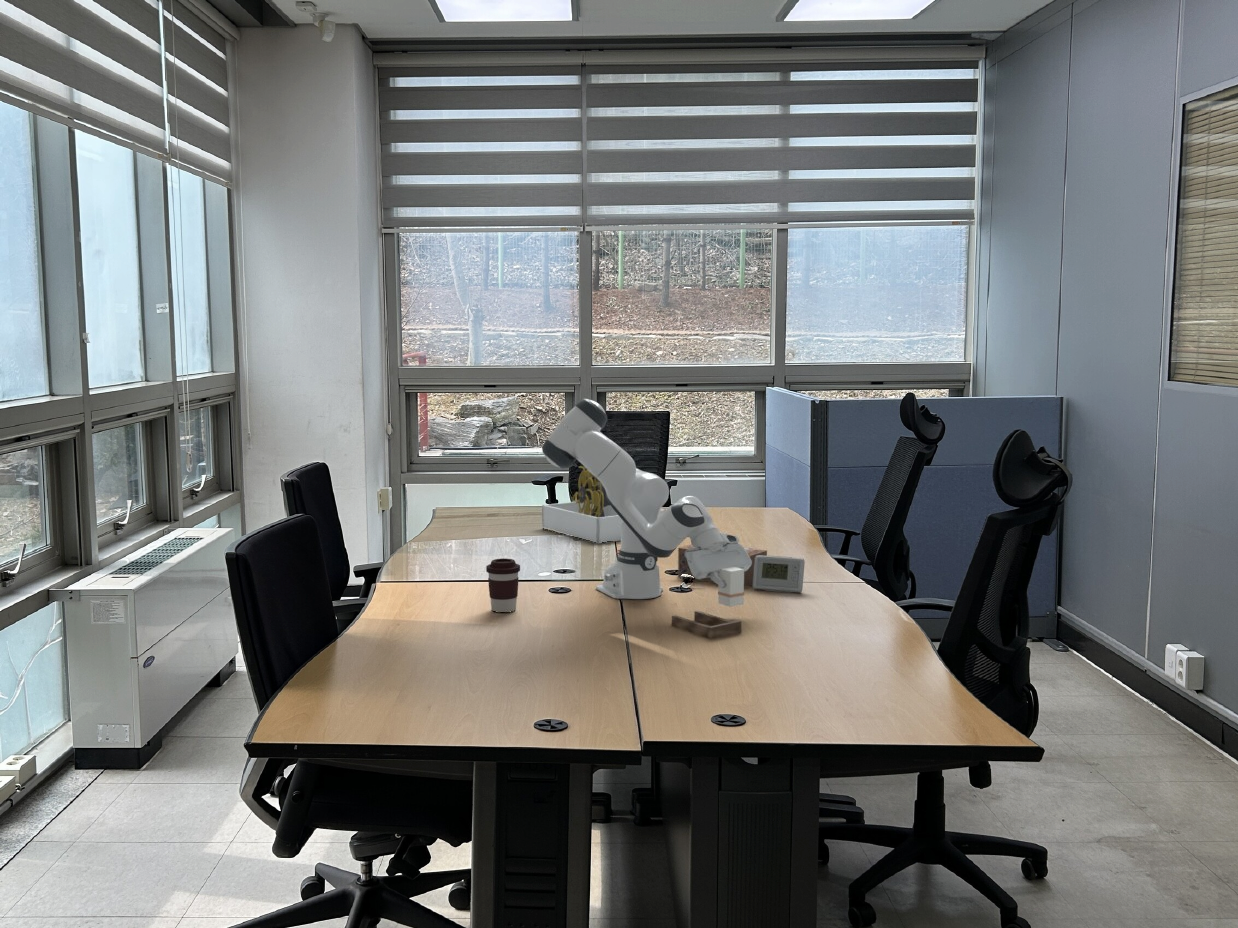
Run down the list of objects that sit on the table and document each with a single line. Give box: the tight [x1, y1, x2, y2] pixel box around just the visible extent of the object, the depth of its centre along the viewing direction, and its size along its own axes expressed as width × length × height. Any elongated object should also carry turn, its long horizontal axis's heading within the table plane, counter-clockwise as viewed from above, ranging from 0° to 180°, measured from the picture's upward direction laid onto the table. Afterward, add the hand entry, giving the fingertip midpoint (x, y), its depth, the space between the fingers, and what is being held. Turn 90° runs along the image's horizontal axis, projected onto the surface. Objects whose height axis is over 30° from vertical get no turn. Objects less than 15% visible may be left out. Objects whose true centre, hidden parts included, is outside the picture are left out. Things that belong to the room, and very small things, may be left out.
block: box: [717, 567, 745, 608], centre depth 305 cm, size 6×5×10 cm
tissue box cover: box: [677, 543, 768, 588], centre depth 363 cm, size 26×14×10 cm, turn 52°
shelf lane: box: [669, 610, 742, 640], centre depth 295 cm, size 17×11×4 cm, turn 37°
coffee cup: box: [485, 557, 521, 613], centre depth 319 cm, size 10×10×15 cm
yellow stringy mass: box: [571, 465, 610, 518], centre depth 446 cm, size 26×32×30 cm
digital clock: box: [752, 555, 806, 594], centre depth 345 cm, size 16×9×11 cm, turn 59°
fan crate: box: [541, 500, 667, 544], centre depth 447 cm, size 40×34×10 cm
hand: (732, 585), depth 305 cm, fingers closed on block, 5 cm apart
